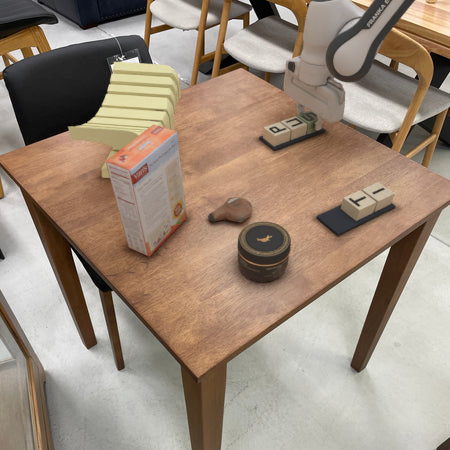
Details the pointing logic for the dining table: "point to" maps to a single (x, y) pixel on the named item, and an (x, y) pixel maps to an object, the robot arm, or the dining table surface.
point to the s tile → (308, 120)
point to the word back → (286, 133)
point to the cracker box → (149, 188)
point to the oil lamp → (232, 210)
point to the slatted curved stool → (132, 106)
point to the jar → (263, 251)
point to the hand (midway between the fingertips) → (308, 123)
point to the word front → (358, 208)
